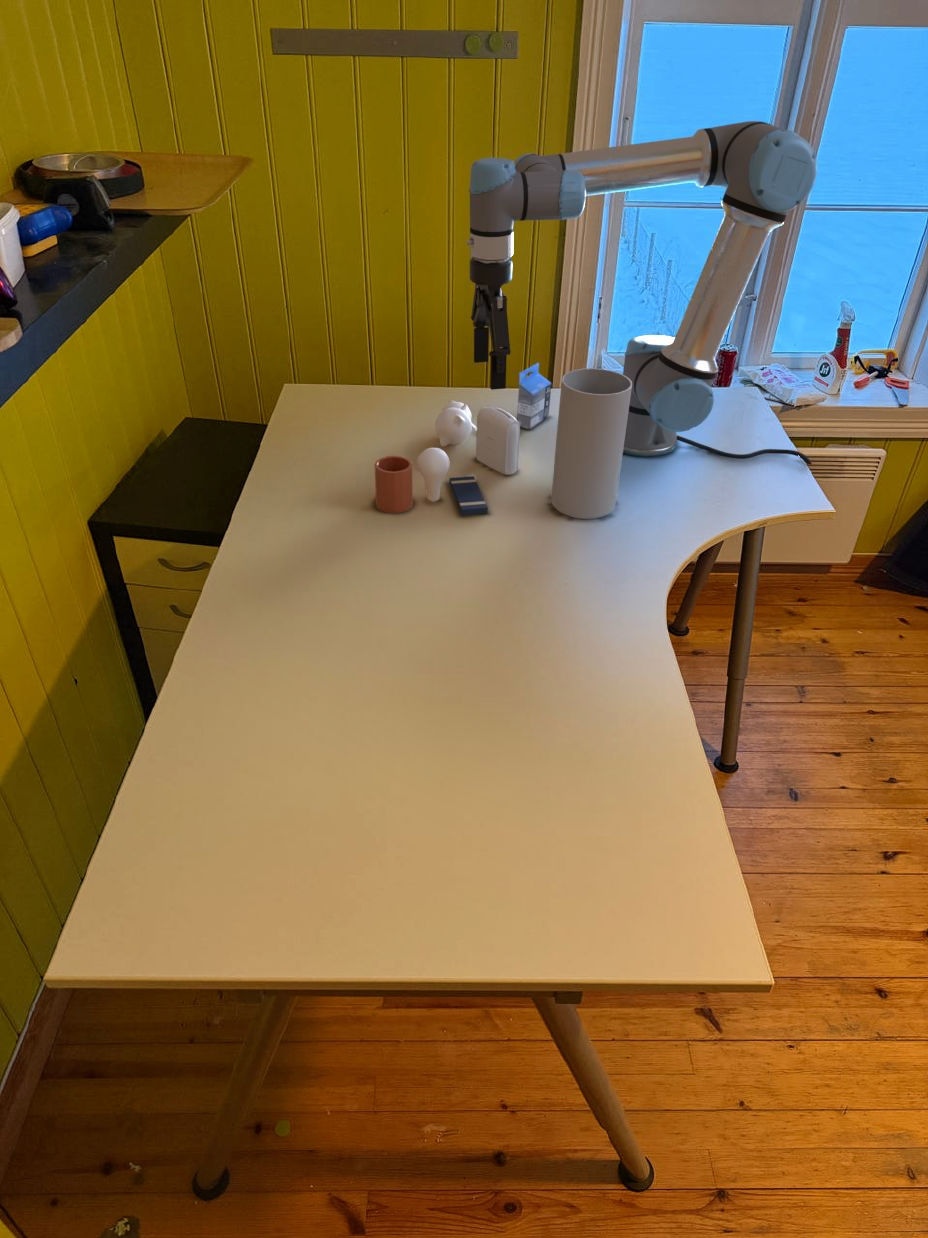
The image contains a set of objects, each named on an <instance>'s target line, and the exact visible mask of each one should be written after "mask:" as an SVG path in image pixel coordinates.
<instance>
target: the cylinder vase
mask: <svg viewBox="0 0 928 1238" xmlns="http://www.w3.org/2000/svg"><path fill="white" fill-rule="evenodd" d="M631 390H632V381H631V380H630V379H629V378H628V377H627V376H625V375H623V373H622V372H621V373H620V372H617V371H614V370H610V369H604V368H596V367H595V368H593V367H591V368H590V367H587V368H578V369H573V370H570V371H568V372H566V373H564V374H563V375H562V377H561V383H560V396H559V407H558V417H557V428H556V438H555V439H556V440H555V448H554V449H555V450H554V459H553V460H554V463H553V471H552V472H553V475H552V485H551V493H550V501H551V504H552V506H553V508H554V509H556V511H558V512H559V513H561V514H562V515H565V516H568V517H571V518H574V519H579V520H581V519H582V520H593V519H600V518H603V517H605V516H608V515H610V513H612V512H613V511H614V509H615V507H616V504H617V499H618V490H619V484H620V477H621V469H622V468H621V467H622V460H623V454H624V453H623V448H624V440H625V433H626V426H627V419H628V412H629V404H630V397H631Z"/></svg>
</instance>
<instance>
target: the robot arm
mask: <svg viewBox="0 0 928 1238" xmlns="http://www.w3.org/2000/svg"><path fill="white" fill-rule="evenodd" d="M817 173H818V162H817V157H816V154H815V151H814V149H813V147H812V145H811V144H810V143H809V142H808V140H807V139H805V138H804V137H802V136H800V135H799V134H798V133H796V132H794V131H793V130H789V129H784V128H782V127H779V126H775V125H772V124H770V123H768V122H765V121H760V120H759V121H758V120H751V121H743V122H741V121H740V122H735V123H730V124H724V125H718V126H713V127H707V128H706V127H705V128H699V129H697V130H696V131H695V132H694V134H693V136H685V137H677V138H670V139H663V140H654V141H648V142H640V143H631V144H624V145H617V146H616V145H615V146H609V147H601V148H593V149H587V150H577V151H571V152H562V153H558V154H557V153H556V154H555V153H554V154H548V155H547V154H546V155H540V154H537V153H532V152H529V153H524V154H522V155H520V156H518V157H517V158H516V159H515V160H512V159H509V158H504V157H486V158H485V157H484V158H480V159H476V160H475V161H474V162H473V163H472V165H471V167H470V180H469V188H468V191H469V192H468V193H469V236H470V238H467V239H466V244H467V245H469V256H470V257H471V258H470V259H469V280H470V281H471V283H473V284H474V293H473V300H472V308H471V316H470V319H471V321H472V325H473V327H474V328H473V363H475V364H476V363H477V364H479V363H489V357H490V380H489V381H490V382H489V383H490V385H489V387H490V390H491V391H493V390H505V389H506V387H507V358H508V357H507V356H509V355H511V352H512V351H511V343H510V342H511V341H510V331H509V321H508V320H509V318H508V298H507V295H504V293H503V292H502V286H504V285H507V284H509V283H510V282H511V281H512V279H513V259H512V256H513V255H514V224H515V222H523V221H552V220H553V221H557V220H560V221H564V220H569V219H571V220H572V219H577V218H579V217H580V216H581V215H582V214H583V211H584V209H585V204H586V197H589V196H597V195H605V194H613V193H621V192H628V191H635V190H642V189H643V190H644V189H649V188H650V189H651V188H659V187H666V186H674V185H680V184H688V183H693V184H694V185H695V186H696V187H698V188H705V187H722V188H726V189H725V191H724V194H723V197H722V199H721V201H720V204H721V206H722V209H723V211H724V217H723V219H722V221H721V224H720V226H719V229H718V230H717V231H718V232H717V233H716V236H715V238H714V240H713V243H712V246H711V248H710V251H709V253H708V254H707V255H708V256H707V258H706V261H705V263H704V266H703V268H702V269H701V273H700V275H699V278H698V280H697V282H696V285H695V287H694V290H693V292H692V294H691V297H690V300H689V302H688V304H687V306H686V309H685V312H684V313H683V314H684V315H683V317H682V319H681V322H680V324H679V326H678V328H677V331H676V333H675V336H669V335H659V334H658V335H657V334H646V335H639V336H635V337H632V338H630V339H629V341H628V342H627V345H626V350H625V353H624V363H623V371H622V374H623V375H625V376H627V377H628V378H629V379H630V380H631V381H632V390H631V397H630V404H629V412H628V419H627V426H626V433H625V440H624V448H623V454H626V455H630V456H635V457H645V458H646V457H660V456H664V455H667V454H669V453H671V452H673V451H674V450H675V449H676V446H677V441H679V442H682V443H685V444H687V445H690V446H692V447H695V448H698V449H700V450H704V451H707V452H709V453H712V454H714V455H717V456H721V457H725V458H729V459H735V460H737V459H738V460H744V459H745V460H746V459H752V458H754V457H758V456H760V455H761V456H762V455H766V454H775V455H776V454H777V455H792V456H796V457H798V455H799V456H800V457H799V459H801V460H803V462H804V463H805V464H806V465H812V464H813V463H812V461H811V459H810V458H809V457H808V456H806V454H804V453H802V452H800V451H798V450H794V449H783V448H779V449H778V448H763V449H759V450H755V451H753V452H750V453H743V454H742V453H741V454H739V453H738V454H737V453H731V452H726V451H723V450H720V449H716V448H714V447H711V446H708V445H705V444H702V443H699V442H697V441H694V440H692V439H689V438H686V437H683V436H681V435H678V433H683V432H687V431H690V430H692V429H693V428H696V427H699V426H701V424H702V423H703V422H705V420H706V419H707V418H708V417H709V415H710V414H711V412H712V410H713V407H714V402H715V396H714V392H713V389H712V385H713V383H714V380H715V378H716V376H717V374H718V371H719V367H718V364H717V361H716V356H717V354H718V351H719V349H720V347H721V345H722V343H723V341H724V338H725V336H726V333H727V332H728V329H729V327H730V324H731V322H732V319H733V317H734V315H735V313H736V311H737V308H738V306H739V304H740V302H741V299H742V297H743V295H744V293H745V290H746V288H747V285H748V284H749V281H750V279H751V277H752V275H753V272H754V271H755V267H756V265H757V263H758V261H759V258H760V256H761V254H762V252H763V249H764V247H765V245H766V242H767V240H768V238H769V236H770V234H771V232H772V231H773V230H775V229H777V228H779V227H780V226H783V225H784V223H785V222H786V219H787V216H788V214H789V213H790V211H792V210H793V209H795V208H796V207H797V206H799V205H801V204H802V203H803V202H804V201H805V200H806V199H807V197H808V196H809V195H810V193H811V191H812V190H813V187H814V186H815V185H814V184H815V182H816V179H817ZM489 336H490V338H489ZM489 339H490V340H489ZM489 341H490V342H491V343H490V344H491V349H492V350H491V351H489Z"/></svg>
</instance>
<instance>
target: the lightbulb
mask: <svg viewBox="0 0 928 1238" xmlns="http://www.w3.org/2000/svg"><path fill="white" fill-rule="evenodd" d="M417 458H418V459H417V462H416V464H417V465H416V466H417V470H418V472H419V474H420V476H421V477H422V479H423V482H424V489H425V491H426V498H427V500H428V501H430V502H432V503H435V502H437V501H439V500H440V498H441V491H442V487H443V481H444V479H445V477H446V476H447V474H448V472H449V470H450V465H451V462H450V458H449V456H448V455H447V453H446V452H445V451H444V450H443V449H441V448H439V447H429V448H426V449H424V450H423V451H422V452H421V453H420V454H419V456H418V457H417Z"/></svg>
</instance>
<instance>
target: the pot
mask: <svg viewBox="0 0 928 1238" xmlns="http://www.w3.org/2000/svg"><path fill="white" fill-rule="evenodd" d="M373 467H374V491H375V493H374V495H375V505H376V508H377V509H378V510H380V511H382V512H384V513H390V514H398V513H403V512H407V511H409V509H411V508H413V504H414V503H413V501H414V493H413V492H414V485H413V484H414V482H413V479H414V478H413V476H414V475H413V474H414V473H413V472H414V470H413V469H414V468H413V462H412V460H410V459H409V458H408V457H405V456H401V455H388V456H383V457H381V458H378V459H377V460H376V461H375V462H374V465H373Z"/></svg>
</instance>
